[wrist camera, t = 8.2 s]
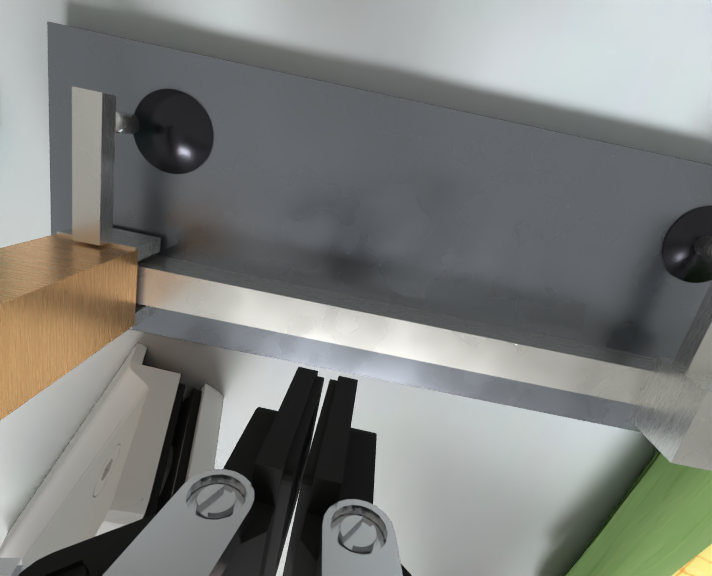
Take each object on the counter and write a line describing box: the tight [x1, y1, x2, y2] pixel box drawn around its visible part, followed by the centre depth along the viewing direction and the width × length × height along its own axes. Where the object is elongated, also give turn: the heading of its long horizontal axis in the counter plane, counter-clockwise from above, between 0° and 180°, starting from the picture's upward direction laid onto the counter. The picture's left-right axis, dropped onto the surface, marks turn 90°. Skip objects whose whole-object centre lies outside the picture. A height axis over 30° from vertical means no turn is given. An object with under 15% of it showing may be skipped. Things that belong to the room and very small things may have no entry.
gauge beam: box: [136, 236, 712, 471], centre depth 16 cm, size 28×8×4 cm, turn 79°
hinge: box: [0, 343, 224, 565], centre depth 20 cm, size 17×5×10 cm, turn 142°
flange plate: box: [47, 22, 712, 432], centre depth 19 cm, size 30×12×1 cm, turn 79°
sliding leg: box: [0, 86, 161, 420], centre depth 13 cm, size 3×9×9 cm, turn 168°
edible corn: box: [565, 451, 712, 576], centre depth 21 cm, size 5×20×5 cm, turn 154°
